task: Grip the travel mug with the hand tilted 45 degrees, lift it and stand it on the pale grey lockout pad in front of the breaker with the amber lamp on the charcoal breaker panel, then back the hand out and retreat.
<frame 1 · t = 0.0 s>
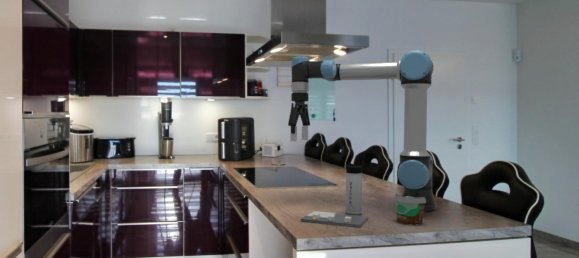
hand: (299, 140, 190), 28 cm above the counter, tool pointing down, fingers open, 13 cm apart
breaker panel: (334, 220, 161), on the counter
travel mug: (353, 215, 171), on the counter
food container: (406, 223, 158), on the counter
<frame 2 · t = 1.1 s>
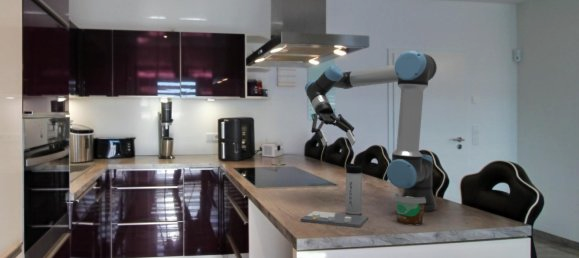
hand: (339, 143, 180), 28 cm above the counter, tool tilted 45°, fingers open, 13 cm apart
nothing on the counter moved.
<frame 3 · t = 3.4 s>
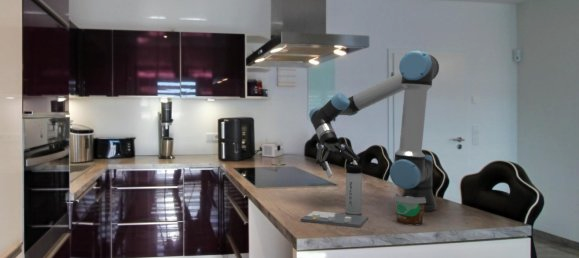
hand: (345, 175, 175), 15 cm above the counter, tool tilted 45°, fingers open, 13 cm apart
nothing on the counter moved.
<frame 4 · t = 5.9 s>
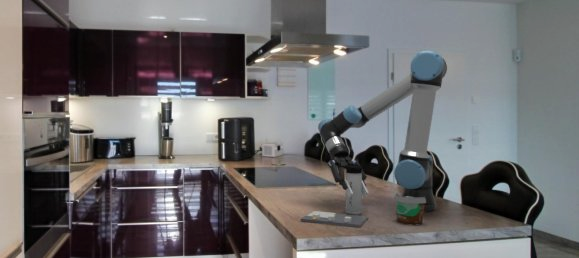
hand: (358, 195, 167), 8 cm above the counter, tool tilted 45°, fingers closed on travel mug, 6 cm apart
travel mug: (353, 215, 171), on the counter, touching gripper
everything else where it was.
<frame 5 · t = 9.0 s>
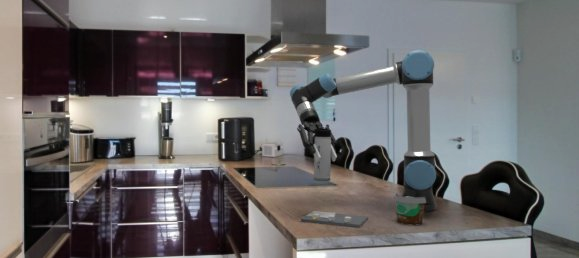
hand: (326, 159, 162), 23 cm above the counter, tool tilted 45°, fingers closed on travel mug, 6 cm apart
travel mug: (321, 180, 166), point 14 cm above the counter, touching gripper
everything else where it was.
when the fingers open (10 cm above the counter, at t = 12.3 s): travel mug stays where it is, resting on breaker panel.
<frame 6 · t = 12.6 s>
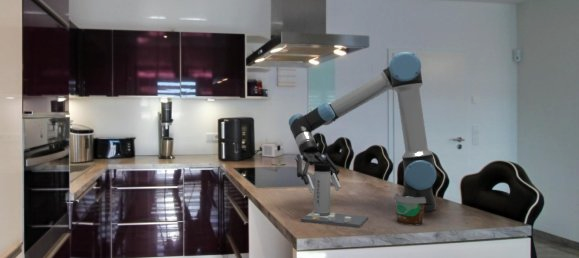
hand: (325, 189, 163), 11 cm above the counter, tool tilted 45°, fingers open, 10 cm apart
travel mug: (321, 214, 166), point 1 cm above the counter, touching breaker panel
everything else where it was.
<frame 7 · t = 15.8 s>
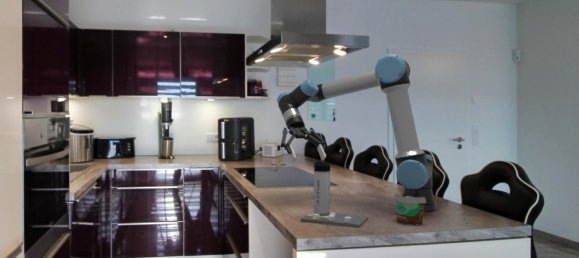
hand: (309, 158, 175), 22 cm above the counter, tool tilted 45°, fingers open, 13 cm apart
nothing on the counter moved.
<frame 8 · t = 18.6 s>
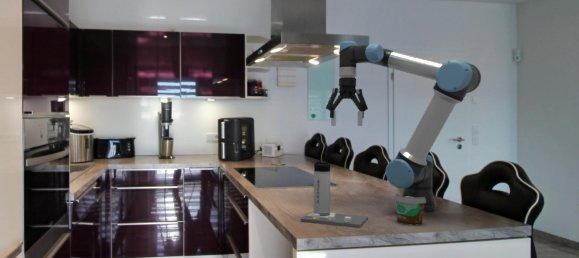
hand: (346, 126, 191), 35 cm above the counter, tool pointing down, fingers open, 13 cm apart
nothing on the counter moved.
at the end: travel mug inside the target area on the breaker panel (0.1 cm from its centre), point 1.0 cm above the breaker panel's base; travel mug tilted 0°; the gripper is holding nothing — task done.
